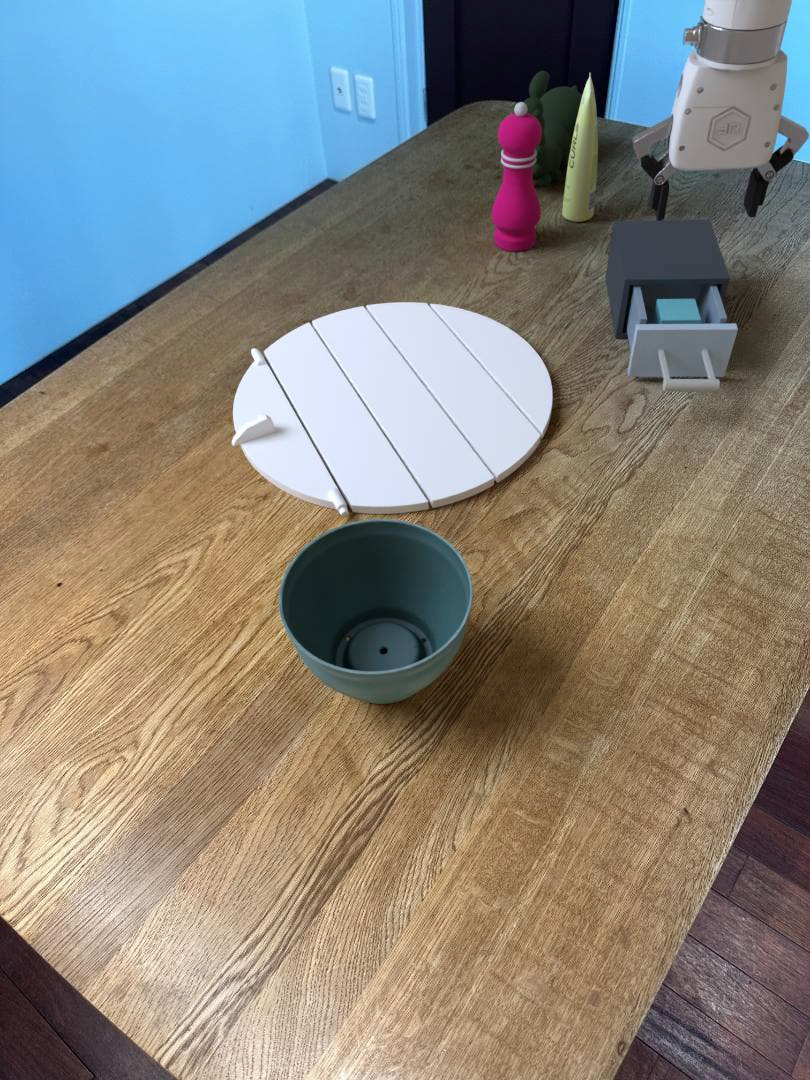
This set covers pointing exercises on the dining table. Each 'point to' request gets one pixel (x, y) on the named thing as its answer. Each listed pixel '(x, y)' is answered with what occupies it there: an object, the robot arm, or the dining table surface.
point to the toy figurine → (552, 126)
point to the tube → (582, 161)
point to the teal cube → (676, 312)
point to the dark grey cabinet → (661, 260)
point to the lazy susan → (393, 407)
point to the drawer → (679, 338)
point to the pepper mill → (517, 182)
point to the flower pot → (377, 607)
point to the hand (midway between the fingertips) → (703, 212)
